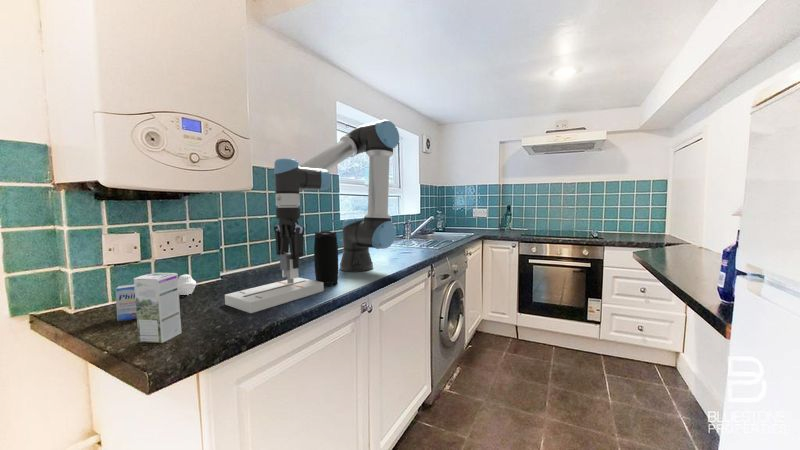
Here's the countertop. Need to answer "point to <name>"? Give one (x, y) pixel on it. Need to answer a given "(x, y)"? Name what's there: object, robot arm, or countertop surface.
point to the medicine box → (125, 302)
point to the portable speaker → (326, 257)
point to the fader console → (272, 294)
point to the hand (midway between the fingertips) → (290, 277)
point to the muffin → (186, 284)
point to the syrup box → (157, 307)
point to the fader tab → (286, 265)
